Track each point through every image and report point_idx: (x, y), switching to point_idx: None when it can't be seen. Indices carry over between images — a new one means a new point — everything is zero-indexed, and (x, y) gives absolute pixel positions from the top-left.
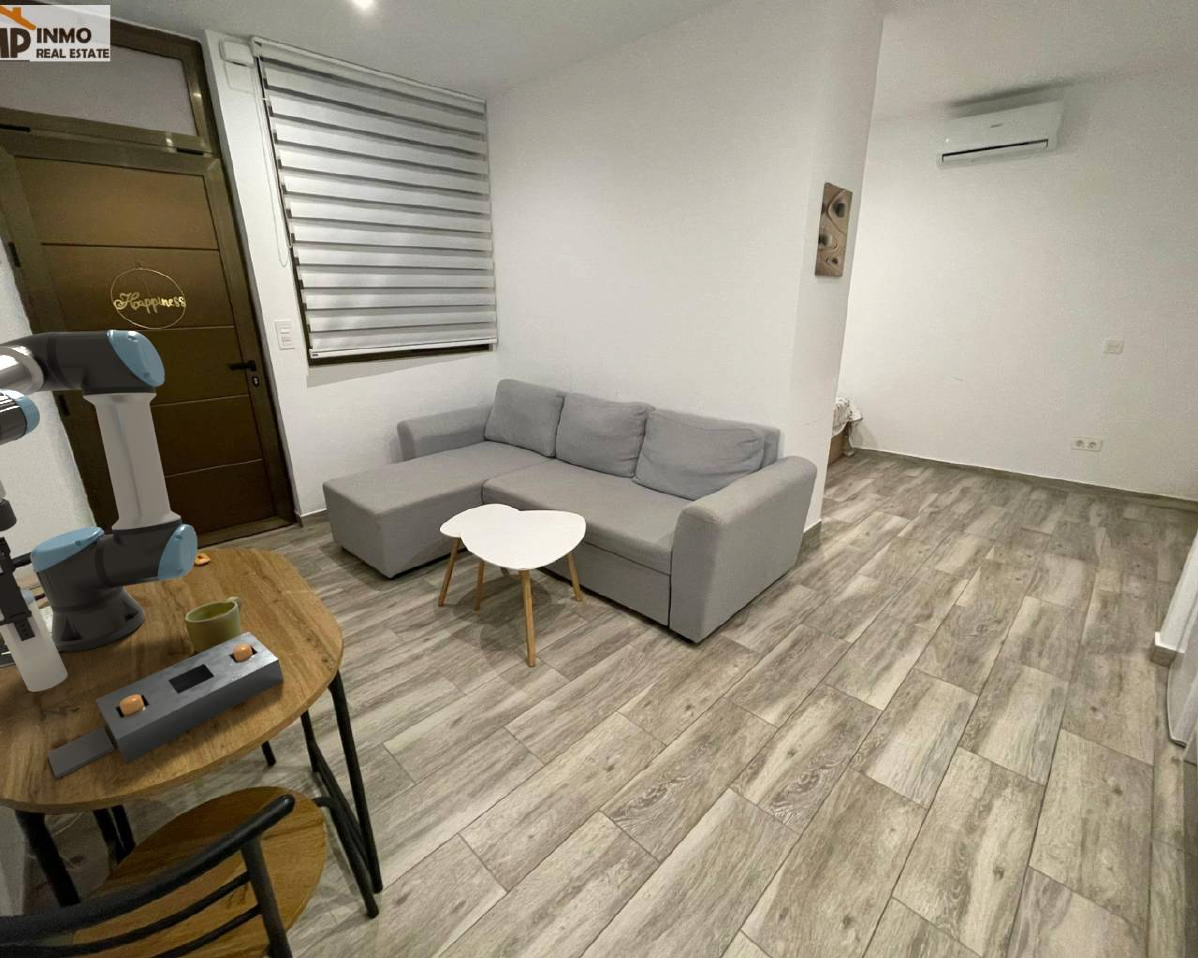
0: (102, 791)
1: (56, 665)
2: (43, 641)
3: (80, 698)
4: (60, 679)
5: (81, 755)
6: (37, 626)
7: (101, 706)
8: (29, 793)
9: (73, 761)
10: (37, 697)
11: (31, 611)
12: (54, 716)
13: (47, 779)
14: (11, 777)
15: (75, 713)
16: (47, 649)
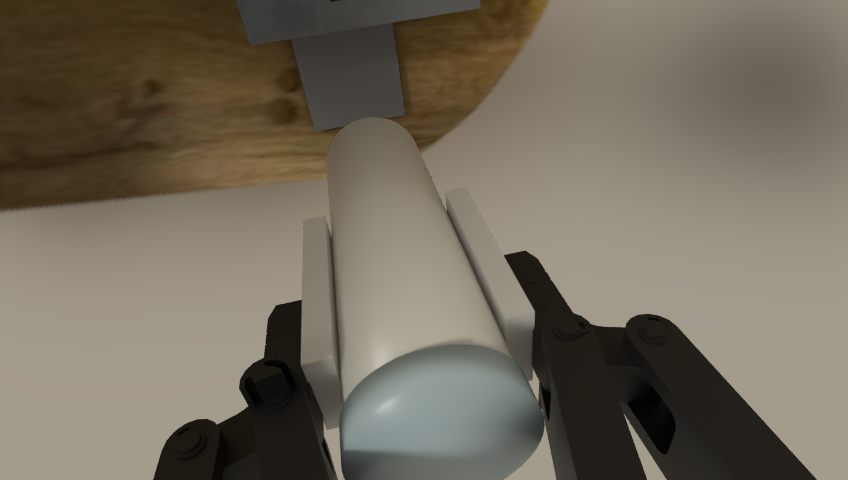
0: (507, 42)
1: (414, 152)
2: (480, 215)
3: (97, 79)
4: (408, 134)
5: (373, 75)
6: (504, 261)
7: (298, 33)
8: None
9: (381, 88)
10: (34, 164)
11: (665, 331)
12: (156, 127)
13: None
14: None
15: (170, 88)
16: (466, 193)
